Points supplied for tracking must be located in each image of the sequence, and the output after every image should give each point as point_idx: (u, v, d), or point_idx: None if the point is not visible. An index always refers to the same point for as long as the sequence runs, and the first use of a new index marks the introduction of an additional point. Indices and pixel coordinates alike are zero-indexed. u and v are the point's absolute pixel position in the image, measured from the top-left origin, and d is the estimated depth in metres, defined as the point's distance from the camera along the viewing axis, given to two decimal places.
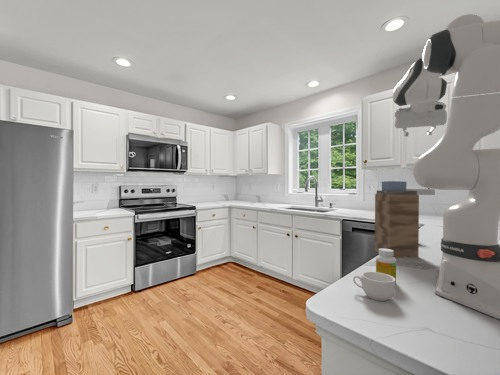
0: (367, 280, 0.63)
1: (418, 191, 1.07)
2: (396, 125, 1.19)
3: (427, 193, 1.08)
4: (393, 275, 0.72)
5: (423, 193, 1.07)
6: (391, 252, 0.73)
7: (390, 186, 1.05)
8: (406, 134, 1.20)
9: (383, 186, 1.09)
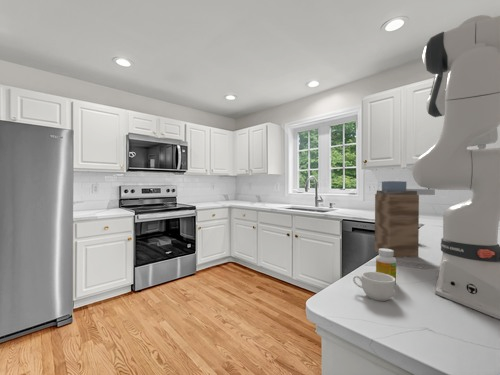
0: (367, 280, 0.63)
1: (418, 191, 1.07)
2: None
3: (427, 193, 1.08)
4: (393, 275, 0.72)
5: (423, 193, 1.07)
6: (391, 252, 0.73)
7: (390, 186, 1.05)
8: None
9: (383, 186, 1.09)
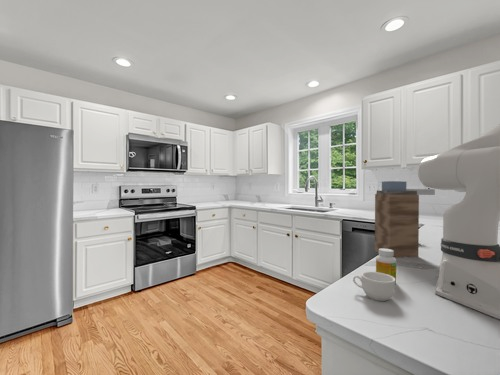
0: (367, 280, 0.63)
1: (418, 191, 1.07)
2: None
3: (427, 193, 1.08)
4: (393, 275, 0.72)
5: (423, 193, 1.07)
6: (391, 252, 0.73)
7: (390, 186, 1.05)
8: None
9: (383, 186, 1.09)
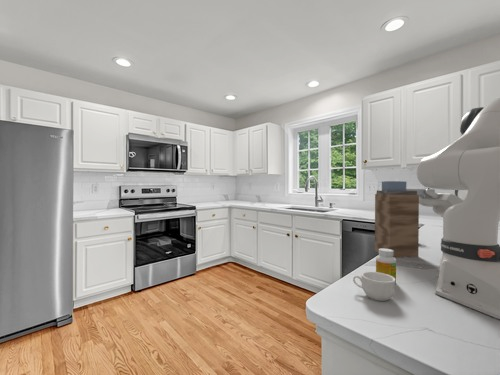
0: (367, 280, 0.63)
1: (418, 191, 1.07)
2: None
3: None
4: (393, 275, 0.72)
5: (423, 193, 1.07)
6: (391, 252, 0.73)
7: (390, 186, 1.05)
8: None
9: (383, 186, 1.09)
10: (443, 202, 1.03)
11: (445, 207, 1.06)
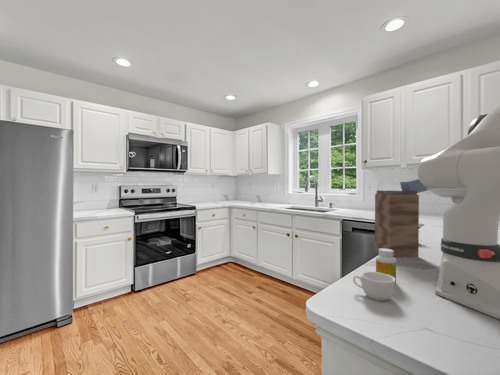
0: (367, 280, 0.63)
1: None
2: None
3: None
4: (393, 275, 0.72)
5: None
6: (391, 252, 0.73)
7: (410, 186, 1.06)
8: None
9: (402, 186, 1.10)
10: (463, 192, 1.05)
11: (465, 197, 1.07)
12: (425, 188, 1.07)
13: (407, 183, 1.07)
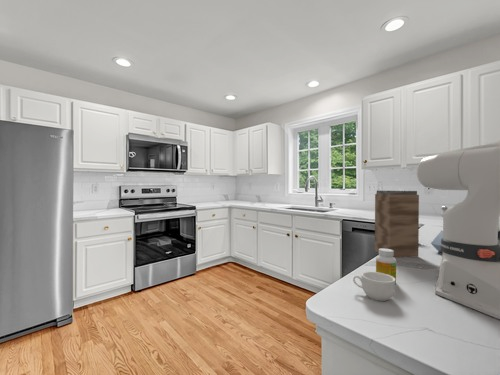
0: (367, 280, 0.63)
1: None
2: None
3: None
4: (393, 275, 0.72)
5: None
6: (391, 252, 0.73)
7: None
8: None
9: (435, 247, 1.11)
10: None
11: None
12: None
13: (439, 246, 1.08)
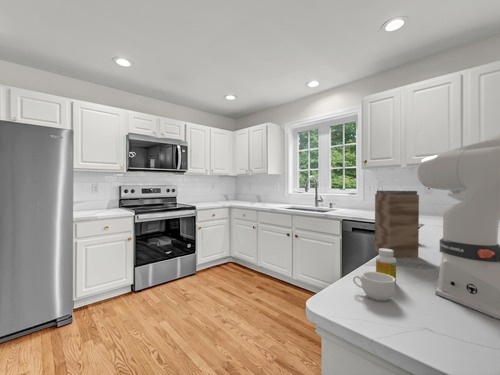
0: (367, 280, 0.63)
1: None
2: None
3: None
4: (393, 275, 0.72)
5: None
6: (391, 252, 0.73)
7: None
8: None
9: None
10: None
11: None
12: None
13: None
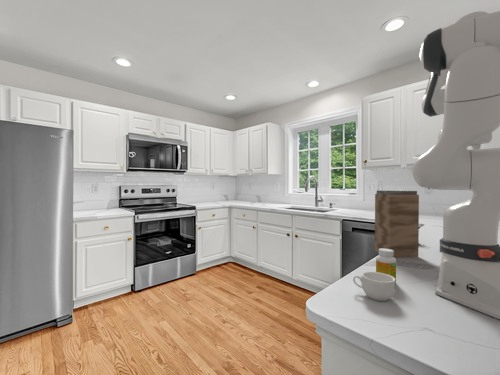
0: (367, 280, 0.63)
1: None
2: None
3: None
4: (393, 275, 0.72)
5: None
6: (391, 252, 0.73)
7: None
8: None
9: None
10: None
11: None
12: None
13: None
